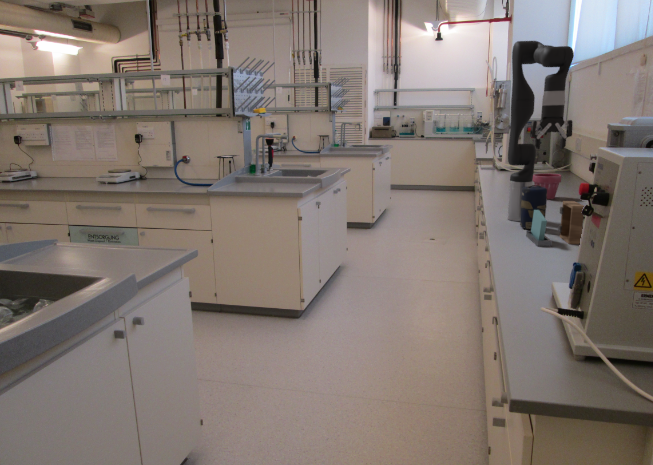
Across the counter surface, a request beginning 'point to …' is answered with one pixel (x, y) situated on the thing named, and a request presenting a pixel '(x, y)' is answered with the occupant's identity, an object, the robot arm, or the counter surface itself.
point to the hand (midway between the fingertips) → (549, 148)
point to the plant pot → (548, 183)
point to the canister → (532, 204)
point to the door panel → (538, 225)
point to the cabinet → (571, 222)
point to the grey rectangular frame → (539, 242)
